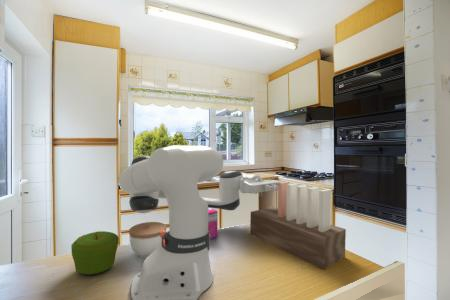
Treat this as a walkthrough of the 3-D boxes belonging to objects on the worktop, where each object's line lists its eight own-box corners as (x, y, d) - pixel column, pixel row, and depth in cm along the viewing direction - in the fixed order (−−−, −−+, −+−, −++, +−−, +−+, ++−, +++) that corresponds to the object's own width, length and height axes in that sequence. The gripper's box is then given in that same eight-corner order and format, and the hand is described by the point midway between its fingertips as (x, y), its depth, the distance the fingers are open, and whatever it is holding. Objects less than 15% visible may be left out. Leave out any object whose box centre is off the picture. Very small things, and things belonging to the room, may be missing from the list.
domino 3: (299, 224, 83) (300, 187, 83) (296, 223, 84) (296, 186, 84) (307, 221, 86) (308, 185, 86) (304, 220, 87) (304, 185, 87)
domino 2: (289, 221, 87) (290, 185, 86) (286, 219, 88) (286, 184, 88) (297, 218, 90) (298, 183, 89) (294, 217, 91) (294, 183, 91)
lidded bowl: (155, 264, 73) (155, 230, 73) (121, 259, 76) (121, 227, 75) (171, 246, 85) (172, 218, 85) (142, 243, 88) (142, 215, 88)
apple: (64, 284, 62) (64, 244, 62) (80, 261, 74) (80, 228, 73) (113, 277, 65) (113, 239, 65) (121, 257, 77) (121, 224, 77)
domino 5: (322, 232, 76) (323, 191, 75) (318, 230, 77) (319, 190, 77) (330, 229, 79) (331, 189, 78) (326, 227, 80) (326, 188, 80)
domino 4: (310, 228, 79) (311, 189, 79) (306, 226, 81) (307, 188, 80) (318, 225, 82) (319, 187, 82) (314, 224, 84) (315, 186, 83)
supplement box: (198, 236, 95) (199, 209, 95) (210, 233, 99) (210, 207, 99) (206, 241, 91) (206, 213, 91) (218, 237, 94) (218, 210, 94)
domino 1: (280, 217, 90) (281, 183, 90) (277, 216, 92) (278, 182, 91) (288, 215, 93) (289, 182, 93) (285, 214, 95) (286, 181, 94)
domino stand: (323, 269, 71) (324, 238, 71) (250, 234, 98) (250, 211, 98) (344, 257, 79) (345, 229, 79) (271, 227, 106) (272, 206, 106)
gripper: (268, 188, 113) (291, 193, 102) (237, 193, 100) (259, 199, 89) (269, 175, 112) (292, 179, 101) (238, 179, 100) (260, 183, 89)
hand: (276, 188), depth 95 cm, fingers closed
